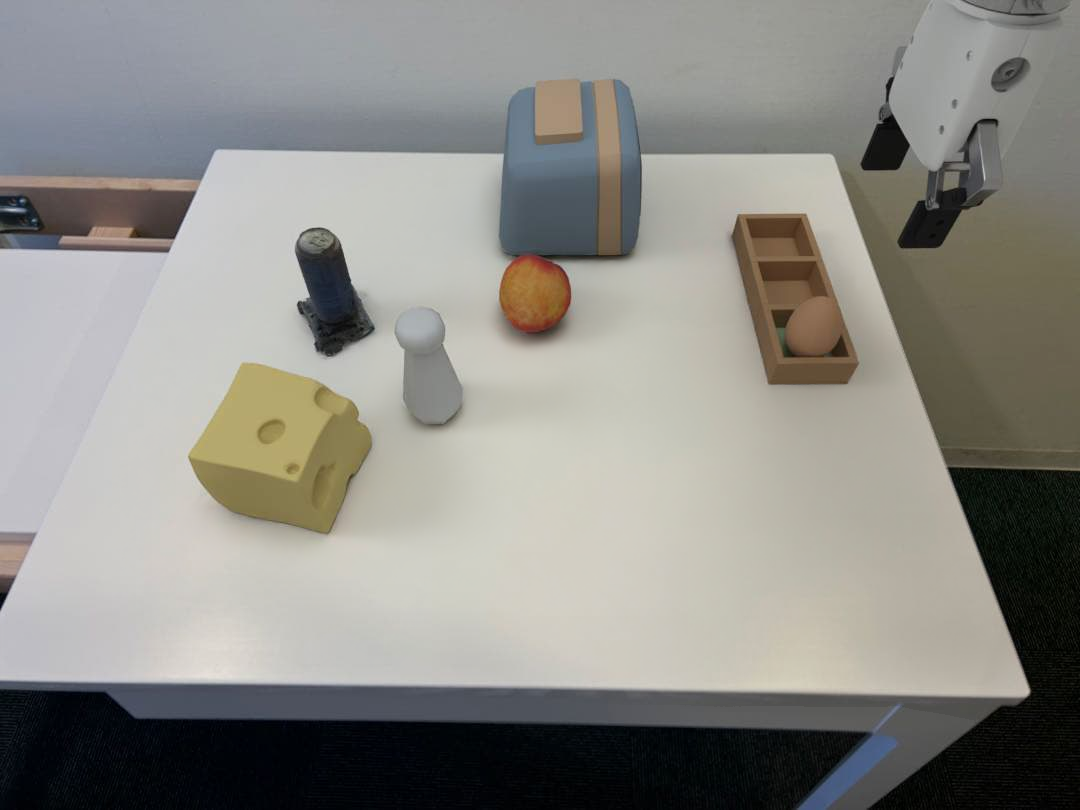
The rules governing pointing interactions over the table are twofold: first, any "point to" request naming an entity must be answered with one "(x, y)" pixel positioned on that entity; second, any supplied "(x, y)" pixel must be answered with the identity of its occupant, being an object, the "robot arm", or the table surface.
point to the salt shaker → (427, 367)
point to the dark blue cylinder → (329, 291)
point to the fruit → (534, 293)
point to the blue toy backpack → (571, 170)
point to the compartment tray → (787, 295)
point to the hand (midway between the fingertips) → (897, 205)
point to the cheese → (281, 448)
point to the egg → (814, 328)
